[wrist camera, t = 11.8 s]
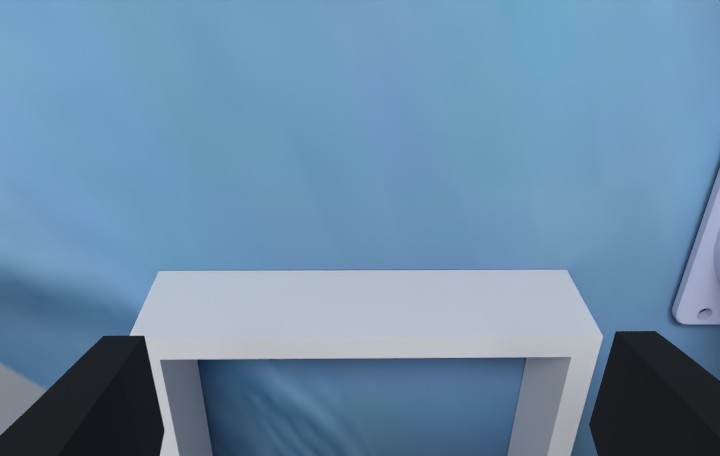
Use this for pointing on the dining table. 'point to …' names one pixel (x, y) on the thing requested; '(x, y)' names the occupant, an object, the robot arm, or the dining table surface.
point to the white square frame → (374, 335)
